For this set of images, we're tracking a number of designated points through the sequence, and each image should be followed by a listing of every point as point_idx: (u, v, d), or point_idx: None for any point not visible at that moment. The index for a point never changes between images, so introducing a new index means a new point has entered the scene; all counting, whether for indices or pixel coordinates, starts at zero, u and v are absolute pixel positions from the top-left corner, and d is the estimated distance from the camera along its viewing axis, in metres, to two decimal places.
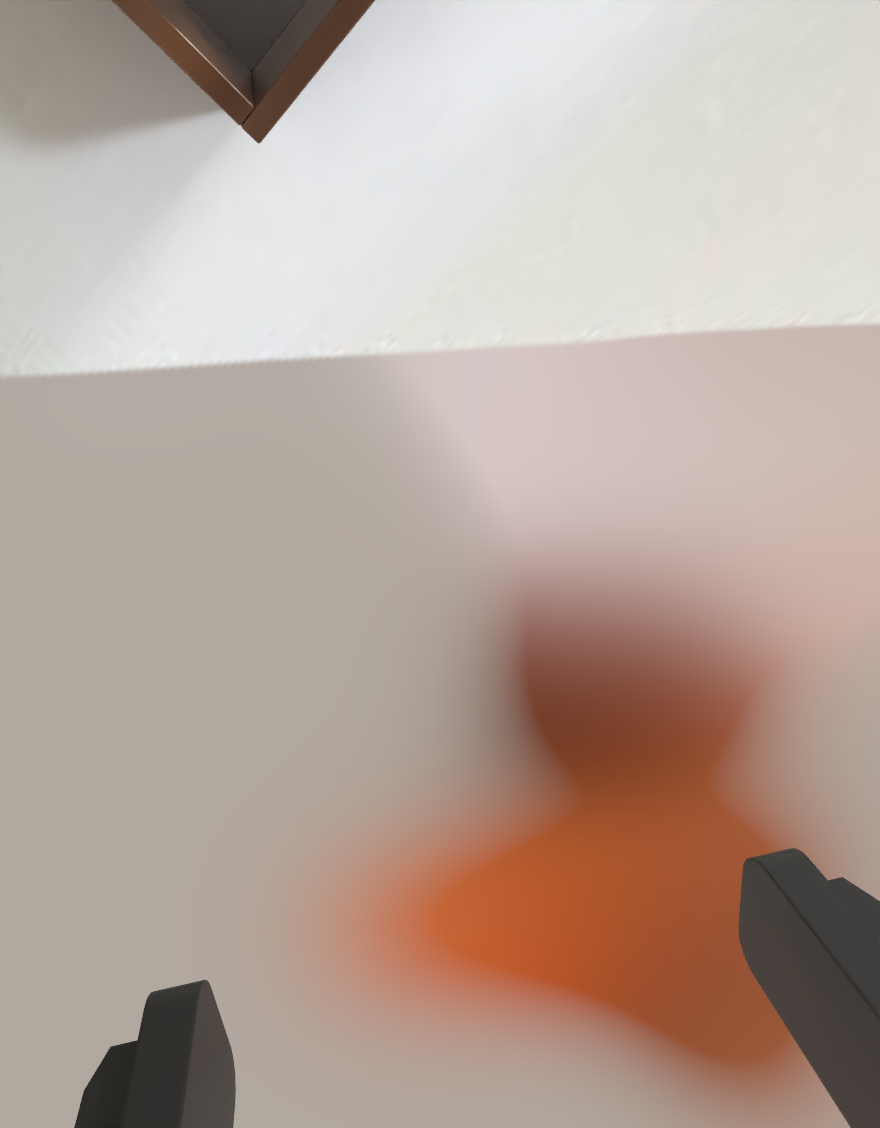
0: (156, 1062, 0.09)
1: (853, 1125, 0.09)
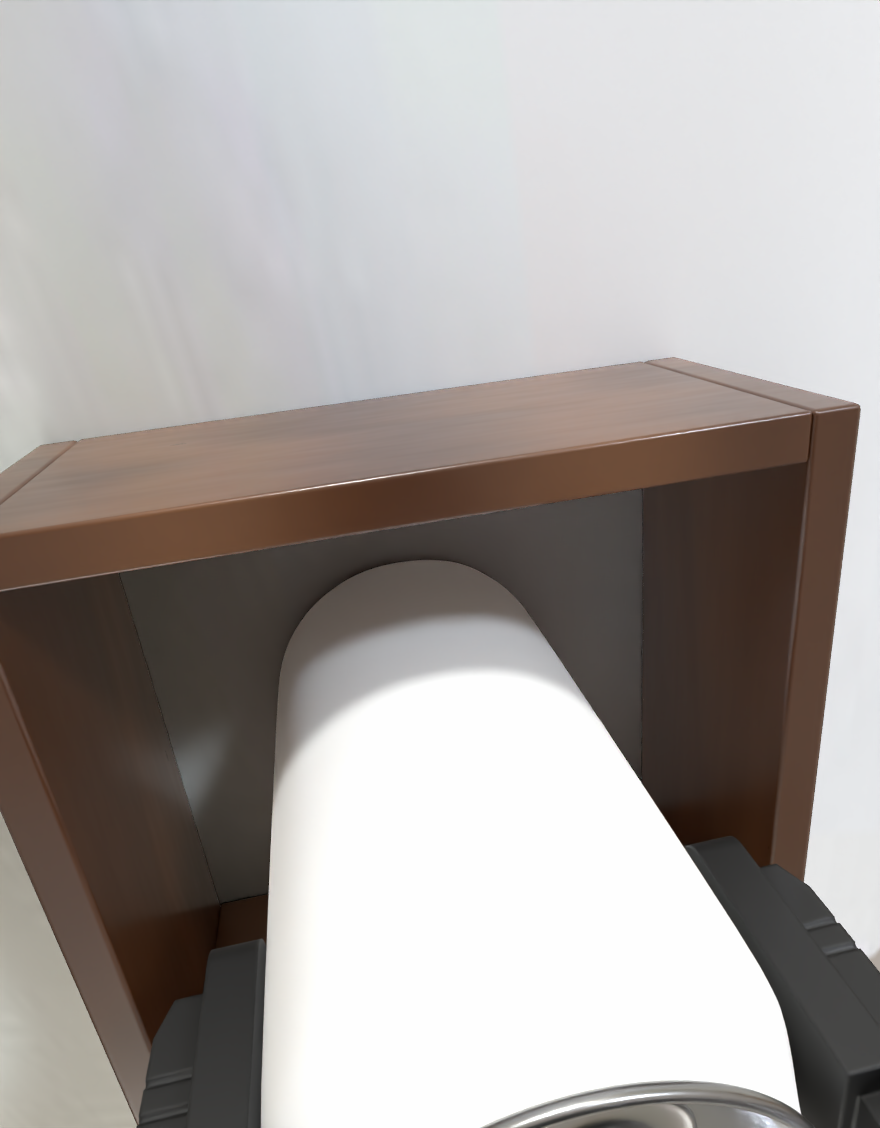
0: (223, 1011, 0.09)
1: None
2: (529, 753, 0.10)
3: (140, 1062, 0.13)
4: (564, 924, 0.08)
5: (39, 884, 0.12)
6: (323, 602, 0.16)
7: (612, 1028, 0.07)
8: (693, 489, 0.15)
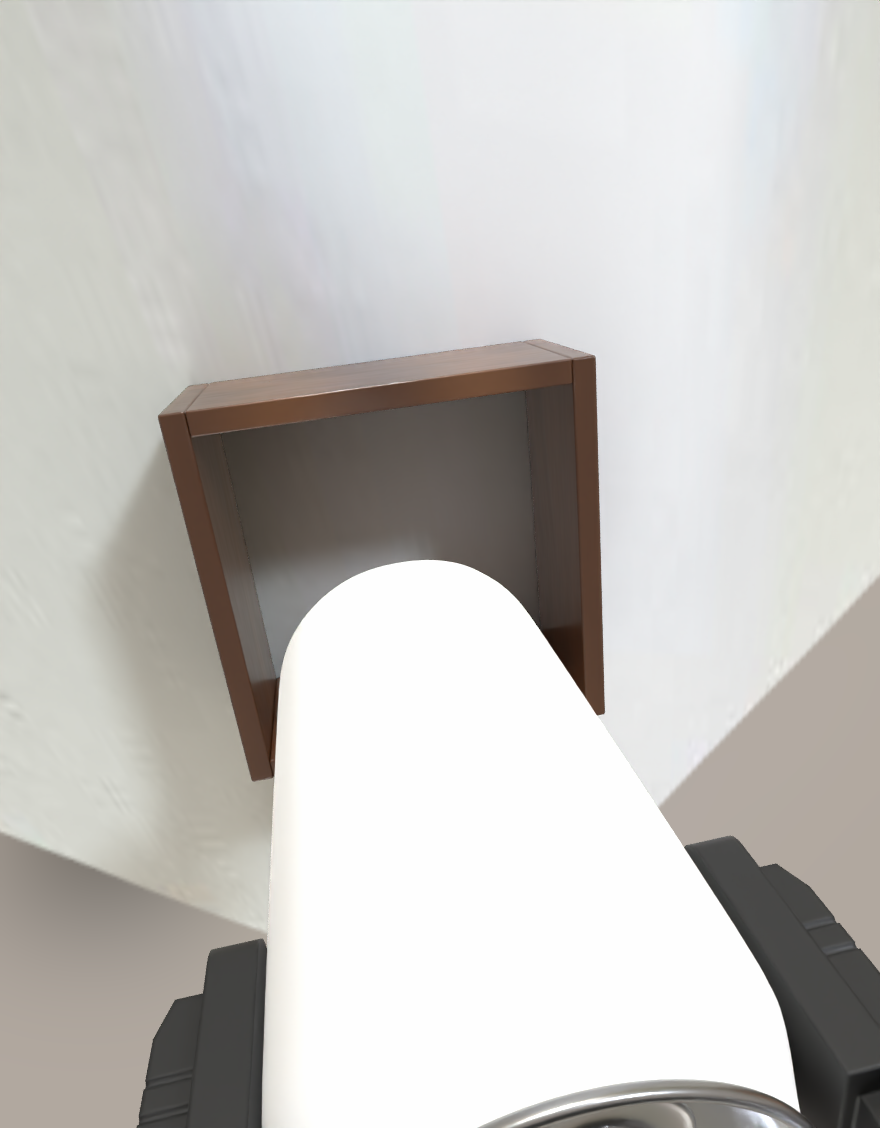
0: (223, 1011, 0.09)
1: None
2: (529, 753, 0.10)
3: (246, 701, 0.26)
4: (564, 924, 0.08)
5: (206, 588, 0.24)
6: (324, 602, 0.16)
7: (611, 1027, 0.07)
8: (543, 409, 0.27)
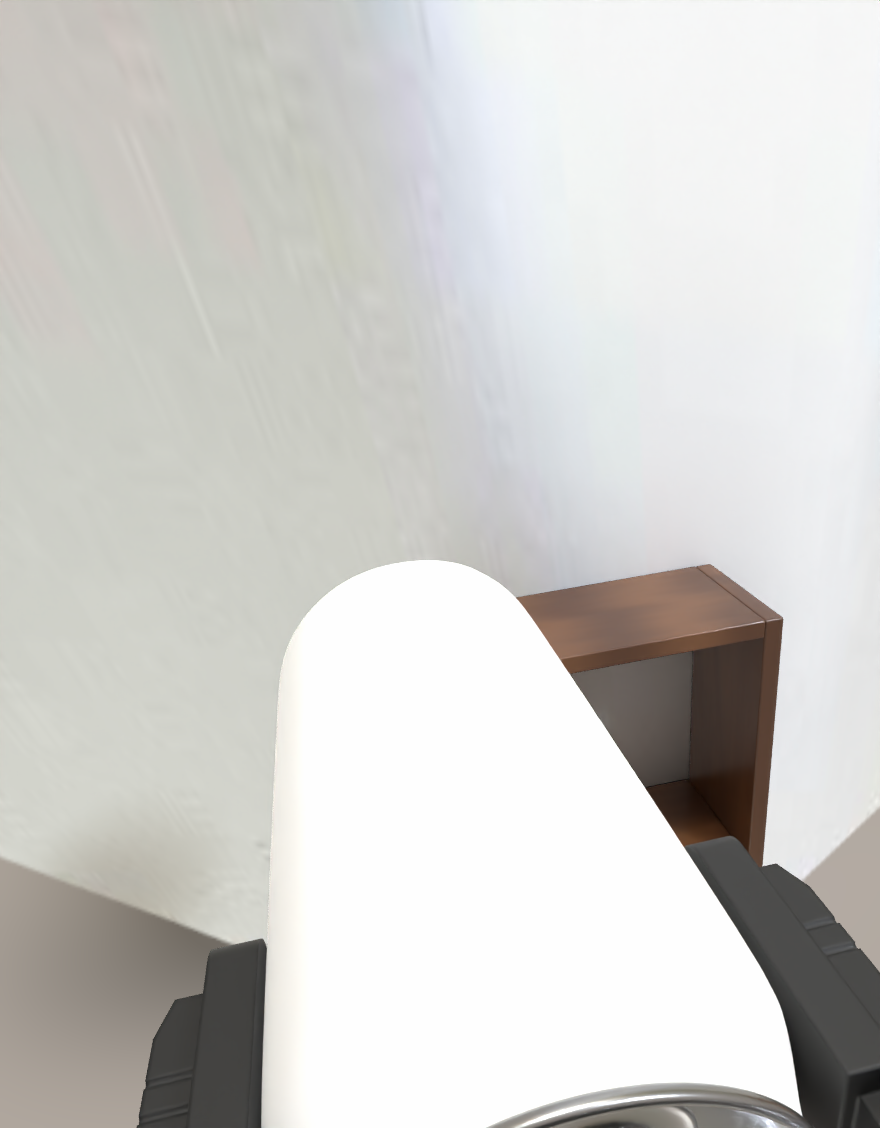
0: (223, 1011, 0.09)
1: None
2: (530, 755, 0.10)
3: None
4: (565, 925, 0.08)
5: None
6: (323, 602, 0.16)
7: (613, 1029, 0.07)
8: None
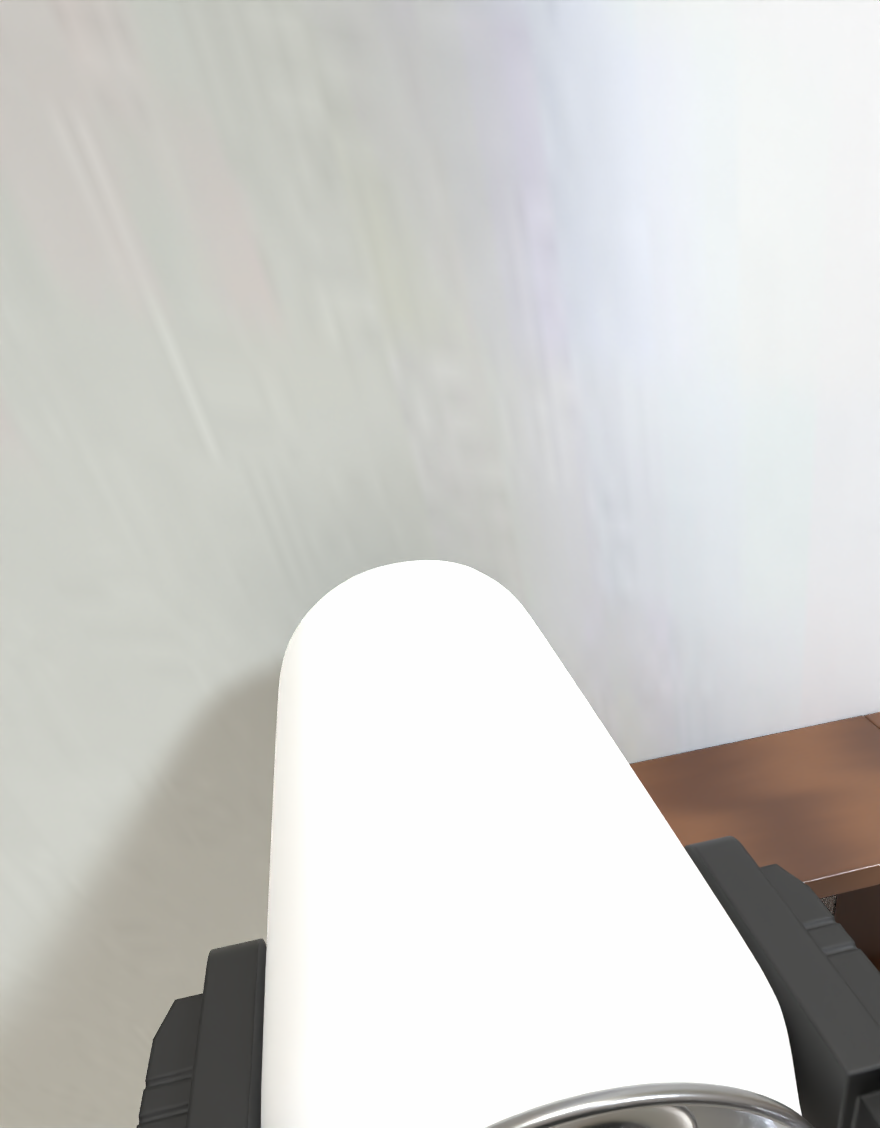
0: (222, 1011, 0.09)
1: None
2: (529, 754, 0.10)
3: None
4: (564, 925, 0.08)
5: None
6: (323, 602, 0.16)
7: (612, 1029, 0.07)
8: None
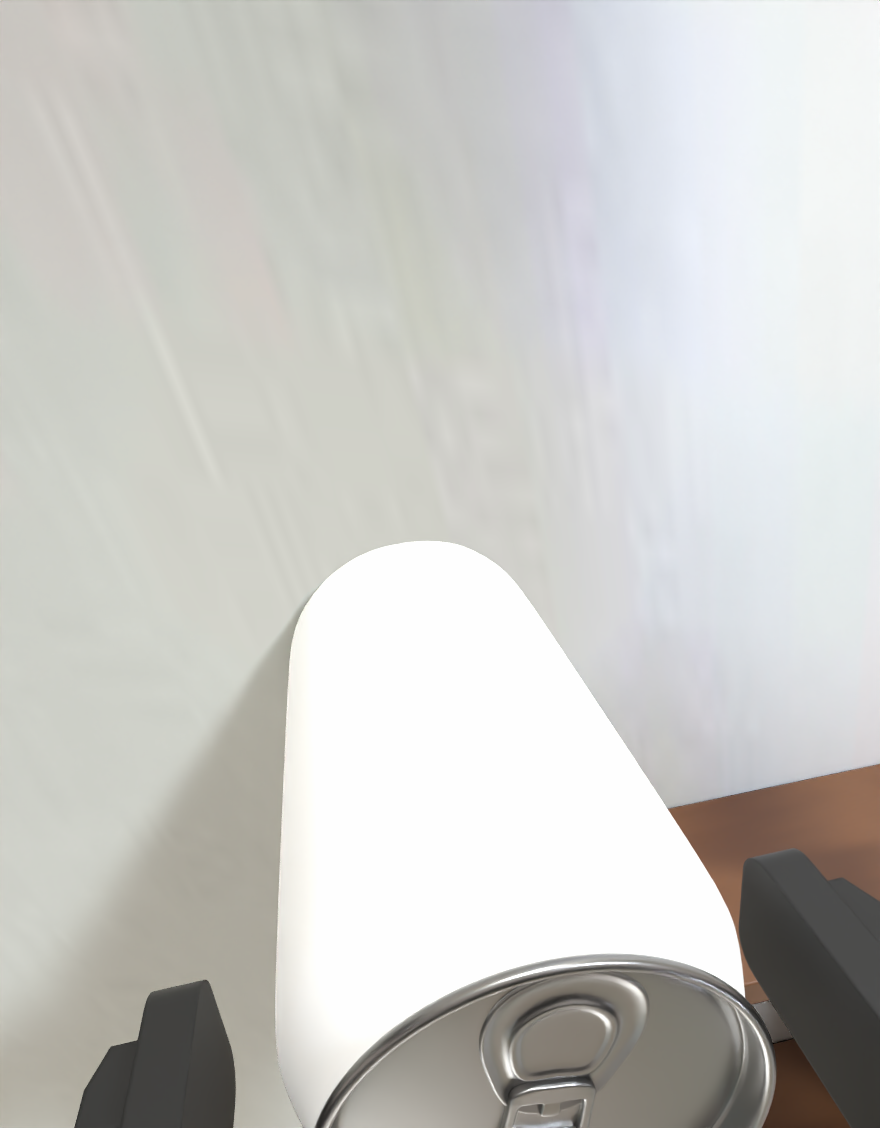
0: (156, 1062, 0.09)
1: (853, 1126, 0.09)
2: (514, 701, 0.11)
3: None
4: (537, 833, 0.09)
5: None
6: (331, 580, 0.18)
7: (575, 914, 0.08)
8: None
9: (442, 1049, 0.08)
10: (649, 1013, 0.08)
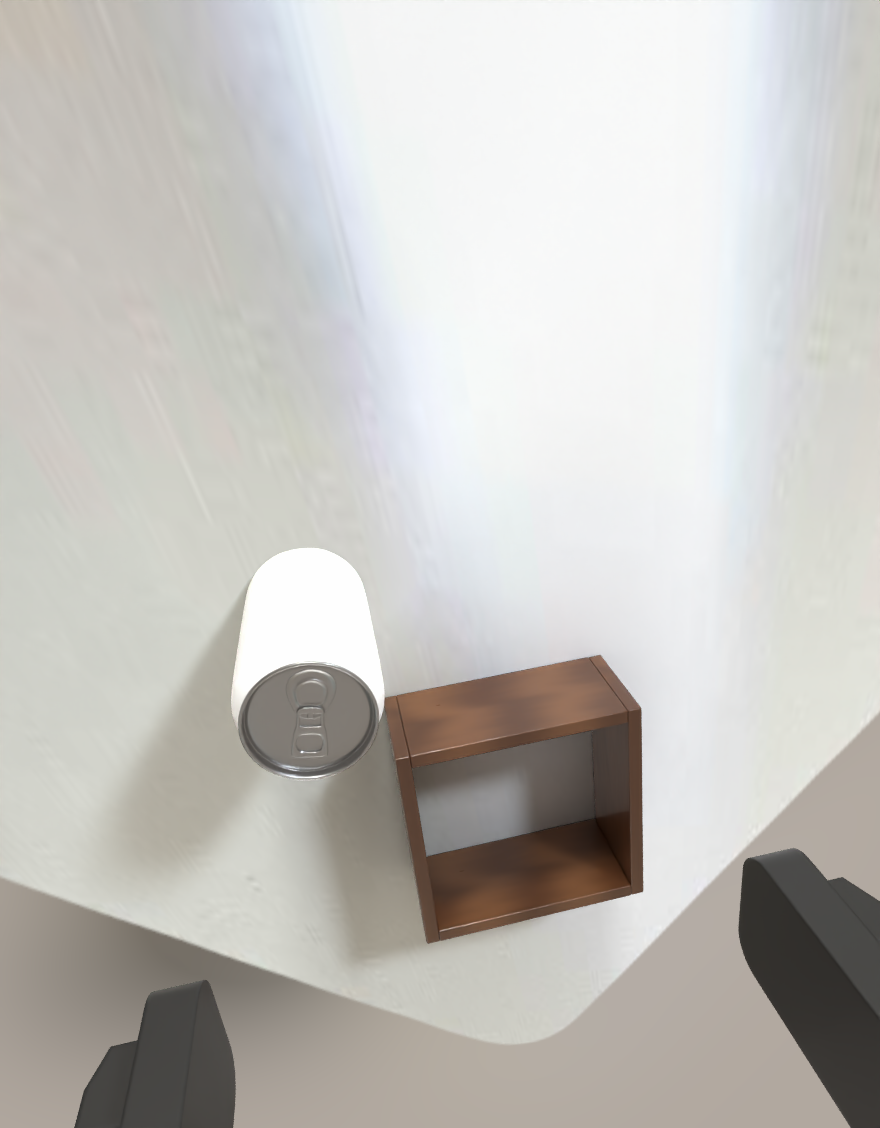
0: (156, 1062, 0.09)
1: (853, 1126, 0.09)
2: (315, 605, 0.32)
3: (428, 900, 0.42)
4: (305, 636, 0.30)
5: (412, 842, 0.41)
6: (263, 566, 0.39)
7: (311, 654, 0.29)
8: None
9: (275, 692, 0.29)
10: (335, 684, 0.30)
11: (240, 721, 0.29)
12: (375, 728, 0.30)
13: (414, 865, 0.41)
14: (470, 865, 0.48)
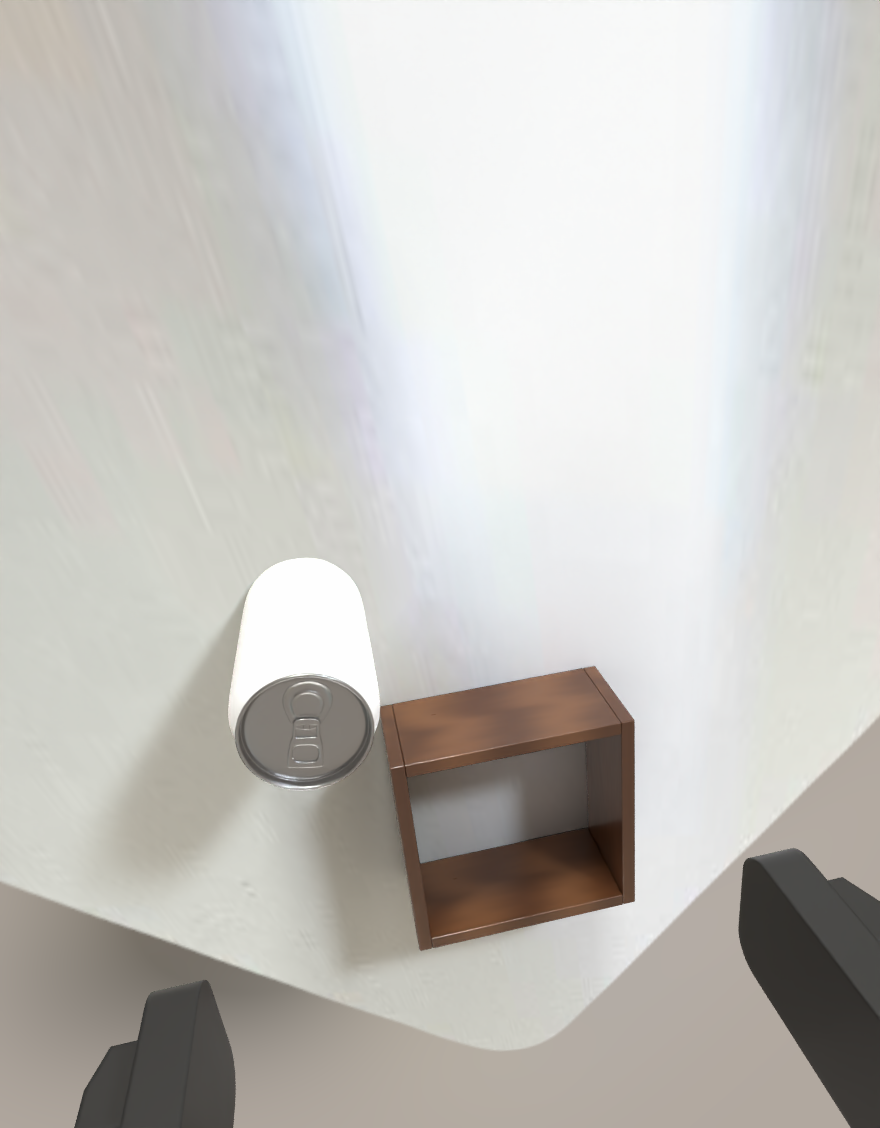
0: (156, 1062, 0.09)
1: (853, 1126, 0.09)
2: (312, 617, 0.33)
3: (421, 907, 0.43)
4: (302, 648, 0.30)
5: (405, 850, 0.41)
6: (261, 575, 0.39)
7: (308, 666, 0.30)
8: None
9: (272, 703, 0.30)
10: (331, 697, 0.30)
11: (237, 732, 0.29)
12: (370, 740, 0.31)
13: (408, 873, 0.42)
14: (463, 873, 0.48)
